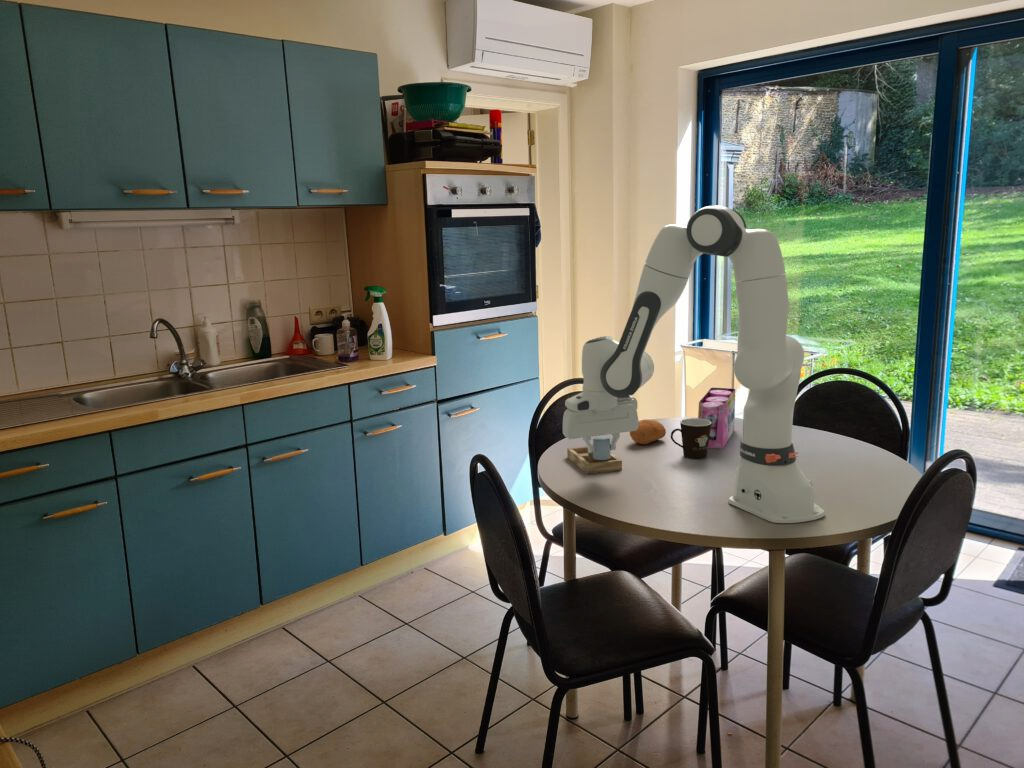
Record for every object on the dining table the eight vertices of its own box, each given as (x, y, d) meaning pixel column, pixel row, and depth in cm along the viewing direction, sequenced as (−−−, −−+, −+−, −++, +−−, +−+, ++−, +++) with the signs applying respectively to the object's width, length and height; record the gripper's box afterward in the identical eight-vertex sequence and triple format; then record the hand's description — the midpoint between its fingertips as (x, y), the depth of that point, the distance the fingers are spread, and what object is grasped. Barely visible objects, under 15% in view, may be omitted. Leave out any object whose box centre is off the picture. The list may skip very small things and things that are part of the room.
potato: (623, 443, 234) (624, 420, 233) (655, 436, 241) (655, 414, 240) (639, 448, 228) (640, 425, 227) (671, 441, 235) (671, 418, 234)
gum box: (722, 450, 224) (724, 405, 222) (695, 448, 228) (696, 403, 225) (734, 430, 246) (736, 388, 243) (709, 428, 249) (710, 386, 246)
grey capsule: (613, 458, 201) (612, 440, 200) (597, 460, 200) (596, 442, 199) (606, 454, 205) (606, 436, 204) (591, 456, 204) (590, 438, 203)
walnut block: (609, 464, 210) (609, 447, 209) (594, 466, 209) (594, 448, 208) (603, 460, 214) (603, 442, 213) (588, 461, 213) (588, 444, 212)
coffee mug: (708, 451, 224) (709, 418, 221) (712, 460, 215) (713, 426, 213) (667, 451, 225) (668, 418, 223) (670, 460, 216) (671, 426, 214)
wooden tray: (621, 470, 209) (622, 460, 209) (587, 474, 207) (587, 464, 206) (599, 453, 224) (599, 444, 224) (567, 457, 222) (567, 448, 221)
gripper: (631, 392, 205) (633, 443, 208) (559, 401, 200) (561, 452, 202) (642, 397, 199) (643, 448, 202) (567, 406, 194) (569, 458, 196)
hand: (601, 450), depth 202 cm, fingers closed on grey capsule, 4 cm apart
